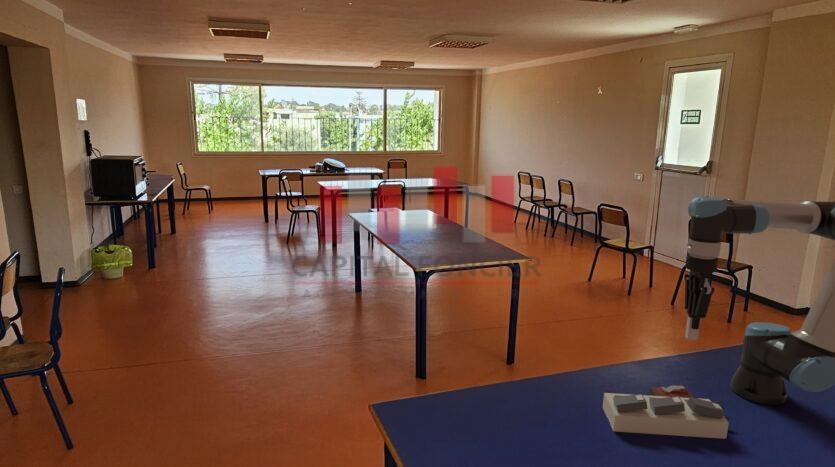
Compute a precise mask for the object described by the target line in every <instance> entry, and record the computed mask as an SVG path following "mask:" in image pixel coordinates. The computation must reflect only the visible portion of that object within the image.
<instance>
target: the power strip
mask: <svg viewBox="0 0 835 467" xmlns="http://www.w3.org/2000/svg"><path fill="white" fill-rule="evenodd" d="M628 395H632V394H629V393H627V394H626V393H613V392H611V393H610V392H604V393H603V401H602V410H603V412H604V414H605V416H606V419H607V418H608V419H607V421H608V420H609V421H608V423H609V422H610V423H609V425H610V427H611V429H612V431H613V432H617V433H619V432H620V433H630V434H631V433H632V434H647V435H660V436H662V435H664V436H665V435H666V436H675V437H677V436H678V437H679V436H682V437H693V438H694V437H695V438H707V439H708V438H710V439H725V440H726V439H727V435H728V429H729V425H730V424H729V422H730V417H729V416H724V415H723V417H722V419H719V418H715V417H711V416H707V415H703V414H699V413H695V412H693V411H692V410H691V409H690V408H689V406H688V405H687V402H688V400H689V398H682V397H680V399H681V400H682V401H683V403H684V406H685V411H684V412H676V413H667V414H659V415H655V414H654V413H653V411H652V409H651V408H650V403H649V400H650V399H658V398H666V397H665V396H649V394H648V395H645V394H642V395H643V396H644V398H645V400H646V401H647V409H644V410H635V411H627V412H619V413H618V412H617V410H616V408H615V406H614V401H613V397H620V396H628ZM697 399H699V398H697ZM700 399H701V400H705V401H709V402H711V400H710V399H709V398H700Z"/></svg>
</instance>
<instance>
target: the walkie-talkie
mask: <svg viewBox="0 0 835 467" xmlns="http://www.w3.org/2000/svg"><path fill="white" fill-rule="evenodd" d="M648 396H665V397H674V396H679V397H682V398H689V397H693V398H695V396H694V395H693V394H692V393H691V392H690V390H688V389H687V388H686V387H685V386H683V384H682V385H681V384H679V385H670V386H668V387H667V386H660V387H649V389H648ZM710 401H711V400H710ZM711 402H713V403H717V404H719V405H721V402H720V400H715V401H714V400H712V401H711Z"/></svg>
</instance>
